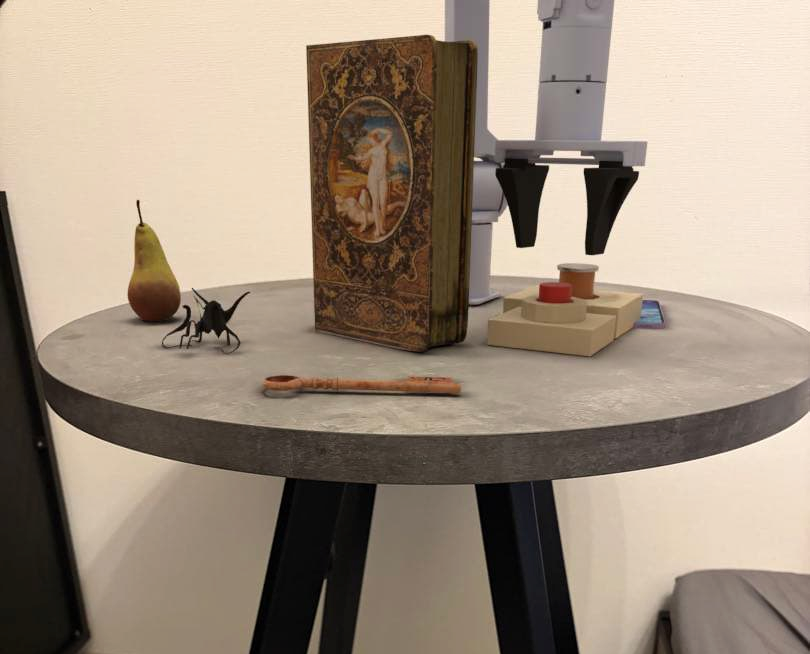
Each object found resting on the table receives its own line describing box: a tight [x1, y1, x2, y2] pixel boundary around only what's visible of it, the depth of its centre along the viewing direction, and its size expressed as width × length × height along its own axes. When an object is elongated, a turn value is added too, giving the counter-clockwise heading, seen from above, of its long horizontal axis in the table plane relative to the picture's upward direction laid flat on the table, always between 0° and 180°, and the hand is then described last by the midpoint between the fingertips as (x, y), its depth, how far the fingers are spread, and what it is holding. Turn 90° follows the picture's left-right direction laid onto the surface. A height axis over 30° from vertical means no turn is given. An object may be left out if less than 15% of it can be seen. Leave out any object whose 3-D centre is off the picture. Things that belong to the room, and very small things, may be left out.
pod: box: [556, 262, 600, 300], centre depth 90 cm, size 4×4×6 cm
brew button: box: [538, 281, 572, 303], centre depth 81 cm, size 3×3×2 cm
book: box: [305, 34, 478, 353], centre depth 79 cm, size 16×6×25 cm, turn 47°
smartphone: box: [631, 299, 666, 330], centre depth 97 cm, size 7×1×15 cm
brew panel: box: [486, 295, 616, 357], centre depth 82 cm, size 10×8×4 cm
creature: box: [161, 287, 251, 355], centre depth 79 cm, size 8×5×8 cm
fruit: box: [127, 199, 182, 322], centre depth 89 cm, size 6×6×12 cm
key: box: [261, 374, 462, 394], centre depth 66 cm, size 6×1×15 cm
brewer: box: [502, 284, 644, 340], centre depth 91 cm, size 12×10×3 cm
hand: (558, 250), depth 80 cm, fingers open, 7 cm apart
